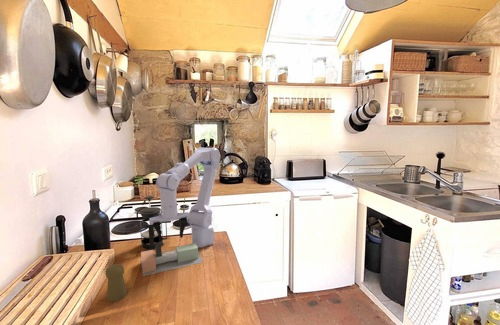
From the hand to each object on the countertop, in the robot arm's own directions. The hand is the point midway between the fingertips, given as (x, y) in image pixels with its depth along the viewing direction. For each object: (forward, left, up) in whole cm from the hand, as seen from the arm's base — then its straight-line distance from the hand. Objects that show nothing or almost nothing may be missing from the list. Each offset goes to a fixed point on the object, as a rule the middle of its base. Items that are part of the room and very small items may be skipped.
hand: (171, 238), depth 104 cm
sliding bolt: (+2, 0, -9) cm, 10 cm away
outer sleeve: (-6, 0, -9) cm, 11 cm away
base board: (0, 0, -10) cm, 10 cm away
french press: (+5, -18, -11) cm, 21 cm away
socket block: (+9, 0, -9) cm, 13 cm away
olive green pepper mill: (+19, +14, -11) cm, 26 cm away
